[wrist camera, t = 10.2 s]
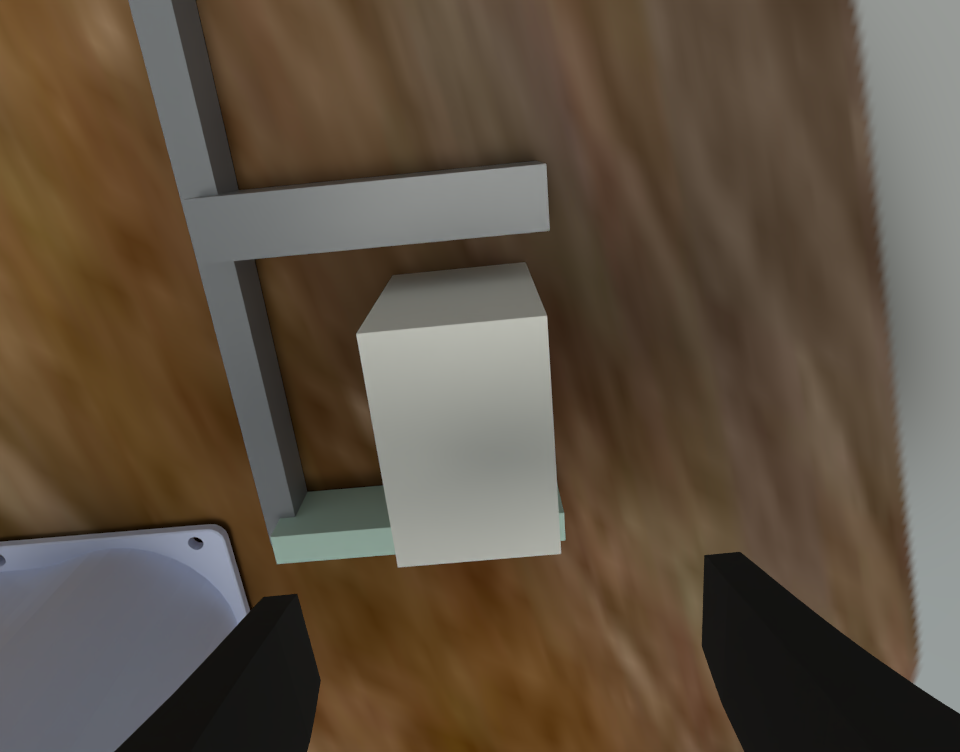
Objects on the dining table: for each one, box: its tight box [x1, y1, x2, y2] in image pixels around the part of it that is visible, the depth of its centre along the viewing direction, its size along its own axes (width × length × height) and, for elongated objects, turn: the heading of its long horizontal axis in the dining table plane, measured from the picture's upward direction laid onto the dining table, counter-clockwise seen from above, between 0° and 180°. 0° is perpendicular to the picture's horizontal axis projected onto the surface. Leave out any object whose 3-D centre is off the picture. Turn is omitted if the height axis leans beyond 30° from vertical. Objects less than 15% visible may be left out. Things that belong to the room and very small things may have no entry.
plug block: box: [356, 262, 561, 567], centre depth 17 cm, size 4×6×6 cm, turn 6°
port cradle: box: [128, 0, 565, 564], centre depth 16 cm, size 10×20×2 cm, turn 5°
